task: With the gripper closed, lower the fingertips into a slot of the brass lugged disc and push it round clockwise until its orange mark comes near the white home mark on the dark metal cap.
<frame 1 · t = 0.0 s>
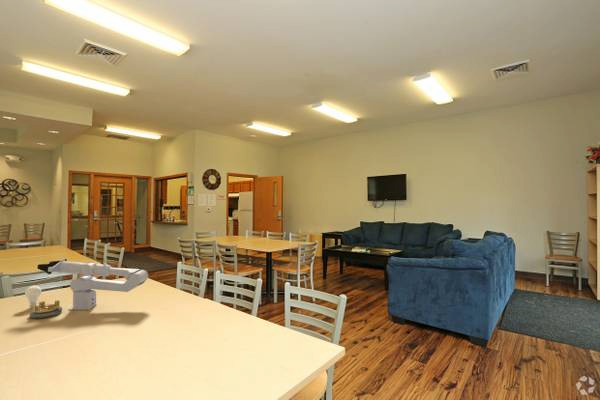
hand: (44, 265, 156), 22 cm above the table, tool horizontal, fingers open, 7 cm apart
brass lugged disc: (46, 306, 147), point 4 cm above the table, hinge at 0.0°
lightbulb: (32, 307, 156), on the table
cap base: (46, 314, 147), on the table
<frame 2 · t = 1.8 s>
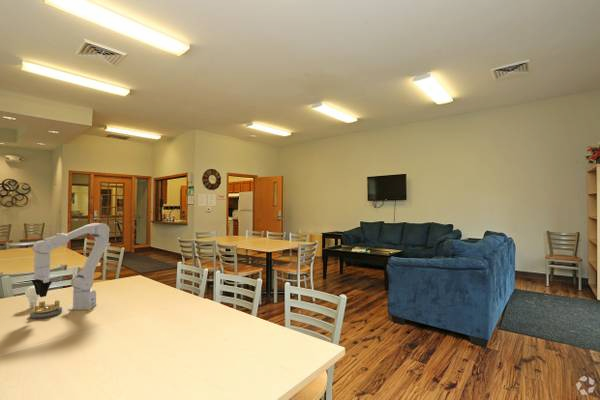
hand: (41, 295, 142), 10 cm above the table, tool pointing down, fingers open, 5 cm apart
nothing on the table moved.
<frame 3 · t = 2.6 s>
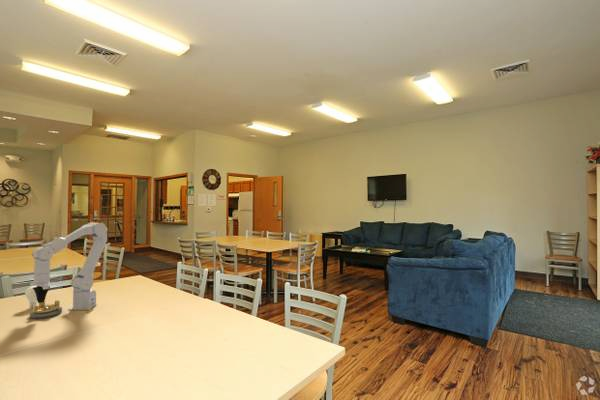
hand: (40, 302, 142), 7 cm above the table, tool pointing down, fingers closed
nothing on the table moved.
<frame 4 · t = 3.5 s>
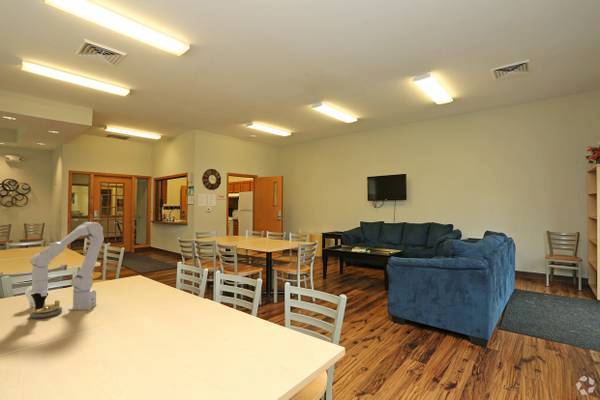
hand: (39, 308, 143), 4 cm above the table, tool pointing down, fingers closed, pressing on brass lugged disc
brass lugged disc: (46, 306, 147), point 4 cm above the table, hinge at 0.0°, touching gripper
everything else where it was.
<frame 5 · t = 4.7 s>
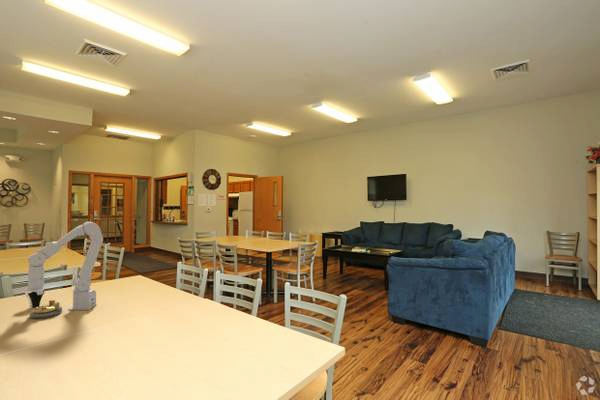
hand: (35, 307, 145), 4 cm above the table, tool pointing down, fingers closed, pressing on brass lugged disc
brass lugged disc: (46, 306, 147), point 4 cm above the table, hinge at -53.0°, touching gripper
everything else where it was.
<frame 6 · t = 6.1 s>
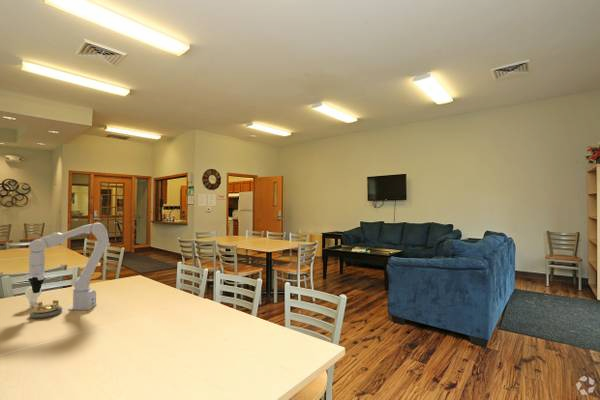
hand: (36, 292, 147), 10 cm above the table, tool pointing down, fingers closed
brass lugged disc: (46, 306, 147), point 4 cm above the table, hinge at -75.1°
everything else where it was.
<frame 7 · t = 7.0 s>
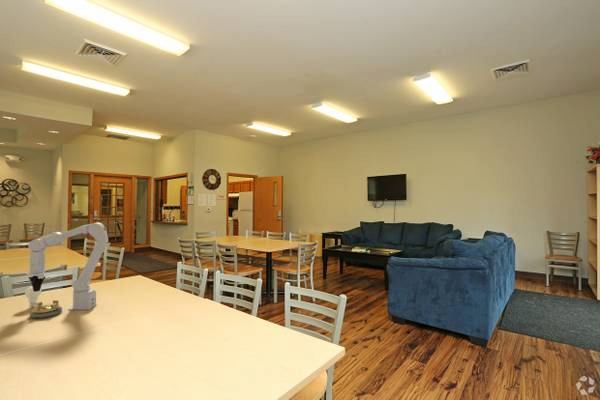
hand: (36, 291, 149), 10 cm above the table, tool pointing down, fingers closed
nothing on the table moved.
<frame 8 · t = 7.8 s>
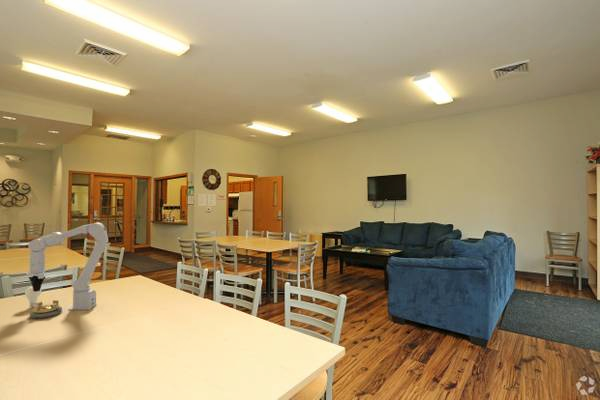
hand: (36, 291, 149), 10 cm above the table, tool pointing down, fingers closed
nothing on the table moved.
at the end: brass lugged disc at -75° (first picture: +0°); lightbulb moved 0.2 cm from its start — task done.
